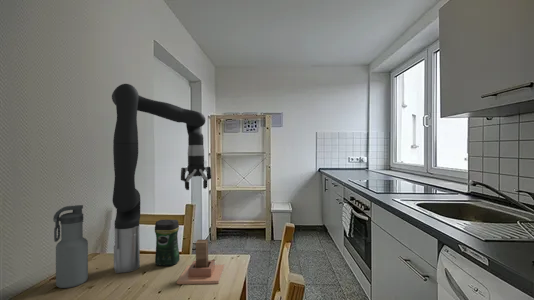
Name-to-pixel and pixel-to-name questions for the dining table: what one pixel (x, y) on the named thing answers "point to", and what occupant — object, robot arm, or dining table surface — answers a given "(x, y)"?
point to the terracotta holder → (201, 274)
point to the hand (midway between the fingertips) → (196, 189)
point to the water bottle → (70, 248)
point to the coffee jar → (166, 242)
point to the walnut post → (202, 253)
